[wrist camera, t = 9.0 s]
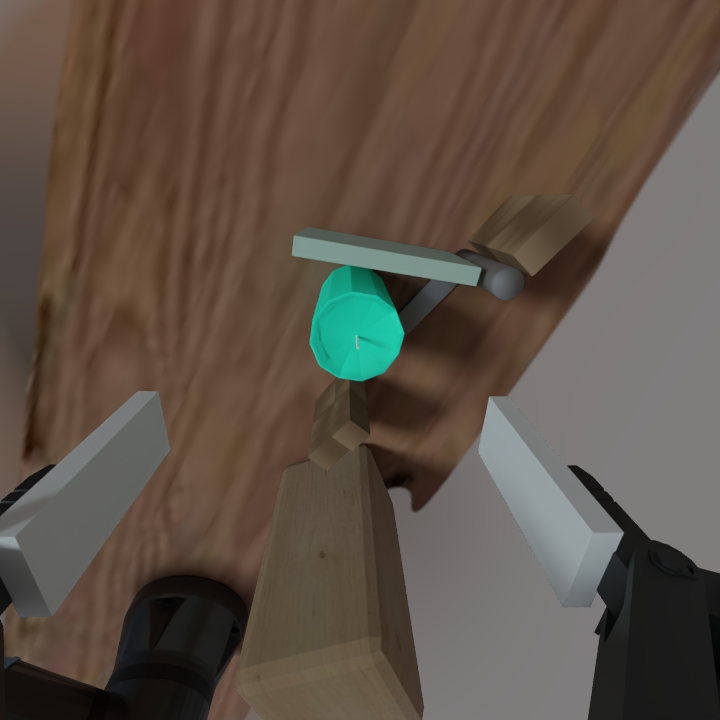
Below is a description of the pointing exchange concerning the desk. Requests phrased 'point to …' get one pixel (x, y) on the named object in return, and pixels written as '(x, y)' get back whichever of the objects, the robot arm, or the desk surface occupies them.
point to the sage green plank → (384, 256)
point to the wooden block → (331, 603)
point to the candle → (355, 325)
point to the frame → (498, 276)
